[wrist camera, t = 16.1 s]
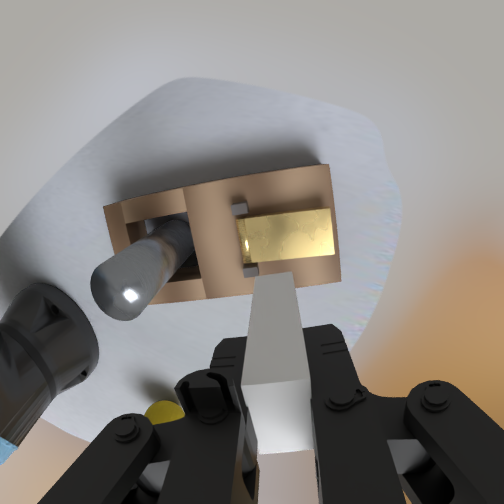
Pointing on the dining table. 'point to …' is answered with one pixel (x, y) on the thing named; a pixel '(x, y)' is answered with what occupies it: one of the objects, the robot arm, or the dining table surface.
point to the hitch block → (230, 230)
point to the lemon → (164, 412)
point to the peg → (141, 270)
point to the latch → (286, 235)
